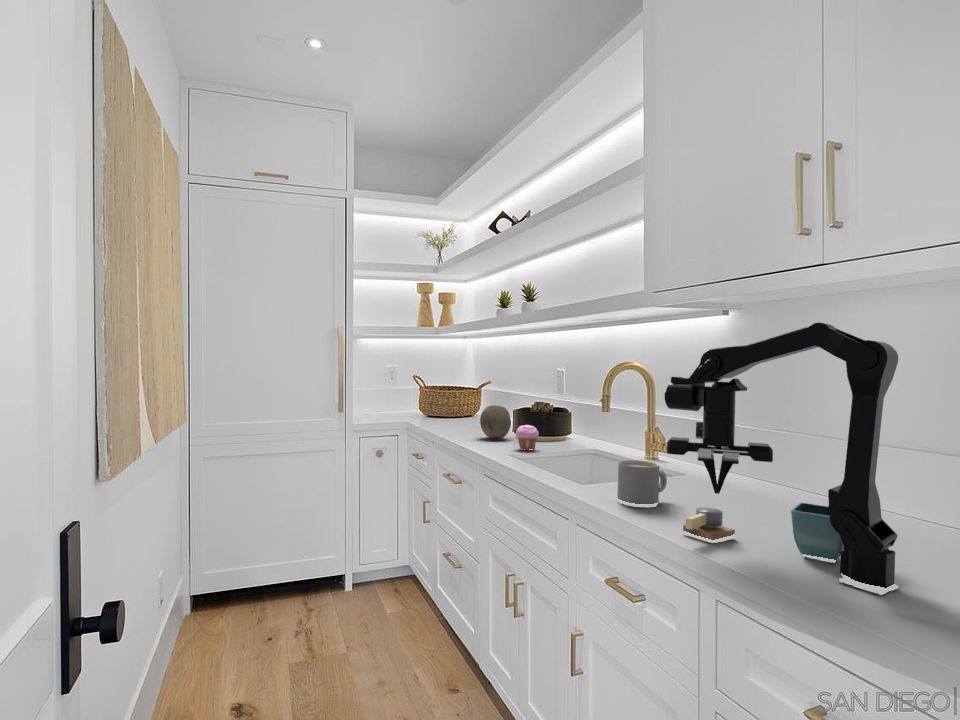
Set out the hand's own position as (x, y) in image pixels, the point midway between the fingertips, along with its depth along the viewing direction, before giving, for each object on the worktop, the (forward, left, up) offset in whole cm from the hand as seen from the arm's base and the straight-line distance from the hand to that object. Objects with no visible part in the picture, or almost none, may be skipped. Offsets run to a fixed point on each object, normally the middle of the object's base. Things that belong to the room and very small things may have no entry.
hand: (717, 493), depth 112 cm
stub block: (+4, -3, -10) cm, 11 cm away
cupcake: (+110, -36, -10) cm, 116 cm away
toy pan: (+3, 0, -7) cm, 8 cm away
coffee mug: (+30, -13, -10) cm, 34 cm away
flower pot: (-14, -11, -10) cm, 21 cm away
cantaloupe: (+140, -41, -10) cm, 146 cm away
